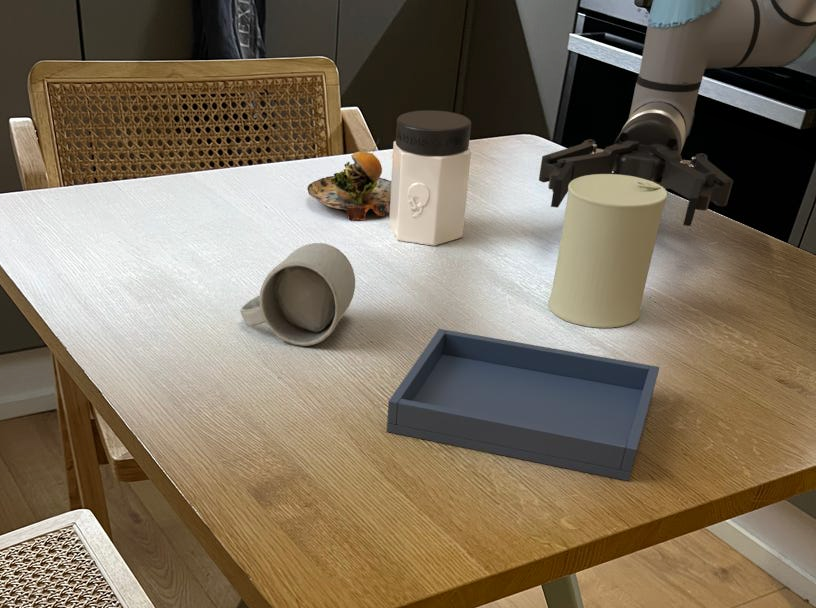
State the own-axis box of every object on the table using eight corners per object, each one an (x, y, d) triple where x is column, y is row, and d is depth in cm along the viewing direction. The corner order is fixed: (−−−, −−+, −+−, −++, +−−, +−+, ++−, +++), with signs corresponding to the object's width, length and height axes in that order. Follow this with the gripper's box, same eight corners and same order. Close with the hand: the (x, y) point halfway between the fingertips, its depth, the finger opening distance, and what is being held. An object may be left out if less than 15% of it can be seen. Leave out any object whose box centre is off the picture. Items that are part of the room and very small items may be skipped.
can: (656, 324, 95) (687, 196, 87) (568, 331, 94) (593, 202, 86) (616, 287, 102) (642, 166, 94) (534, 293, 100) (553, 170, 92)
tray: (652, 396, 84) (659, 366, 82) (628, 481, 74) (636, 449, 72) (436, 357, 89) (438, 328, 87) (386, 431, 79) (388, 400, 77)
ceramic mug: (358, 315, 95) (359, 236, 90) (338, 351, 90) (338, 268, 84) (256, 305, 97) (251, 226, 92) (230, 339, 91) (223, 257, 86)
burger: (318, 185, 125) (318, 121, 120) (408, 193, 124) (412, 128, 119) (296, 216, 117) (296, 149, 112) (393, 224, 115) (397, 157, 110)
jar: (377, 238, 111) (383, 124, 103) (399, 216, 117) (406, 106, 109) (452, 250, 109) (463, 134, 101) (471, 227, 115) (483, 115, 107)
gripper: (749, 194, 113) (737, 257, 98) (539, 167, 119) (498, 222, 105) (769, 124, 108) (760, 179, 93) (549, 99, 114) (508, 148, 100)
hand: (622, 202), depth 99 cm, fingers open, 13 cm apart
